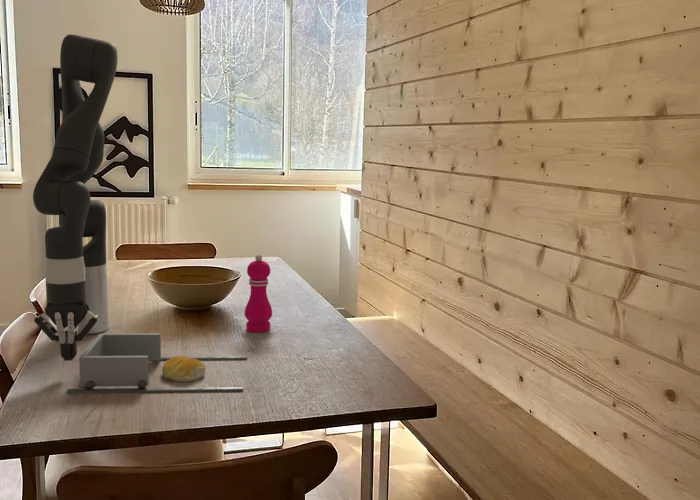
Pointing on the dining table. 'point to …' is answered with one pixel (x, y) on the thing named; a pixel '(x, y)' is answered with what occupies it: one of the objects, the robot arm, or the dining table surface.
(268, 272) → the pepper mill
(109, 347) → the frame
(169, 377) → the bread roll
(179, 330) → the dining table surface
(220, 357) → the track
